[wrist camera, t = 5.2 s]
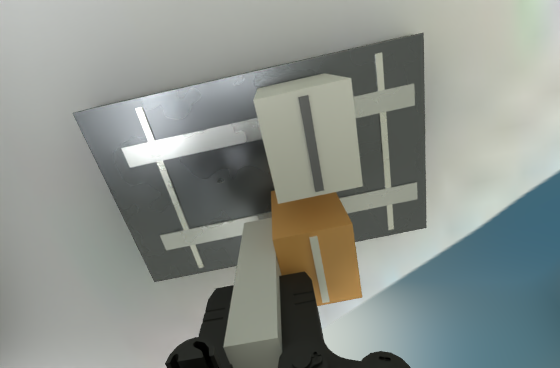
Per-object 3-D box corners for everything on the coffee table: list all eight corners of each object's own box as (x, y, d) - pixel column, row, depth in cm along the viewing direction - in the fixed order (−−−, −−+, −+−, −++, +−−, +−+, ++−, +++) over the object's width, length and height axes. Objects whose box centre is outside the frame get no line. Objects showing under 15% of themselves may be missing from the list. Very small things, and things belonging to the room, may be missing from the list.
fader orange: (285, 248, 16) (291, 312, 12) (270, 191, 15) (272, 241, 11) (338, 238, 16) (362, 299, 12) (328, 179, 15) (353, 225, 10)
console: (163, 265, 18) (153, 283, 17) (91, 108, 15) (71, 113, 13) (414, 215, 18) (427, 228, 16) (407, 35, 14) (424, 32, 12)
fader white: (275, 163, 14) (278, 205, 10) (257, 88, 13) (253, 100, 9) (335, 150, 14) (363, 187, 10) (324, 73, 13) (352, 78, 9)
